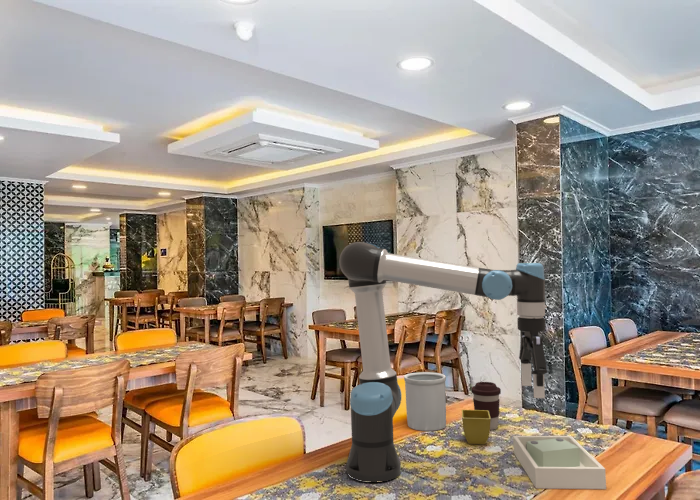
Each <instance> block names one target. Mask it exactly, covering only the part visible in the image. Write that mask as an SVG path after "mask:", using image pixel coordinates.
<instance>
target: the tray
mask: <svg viewBox="0 0 700 500" xmlns="http://www.w3.org/2000/svg"><path fill="white" fill-rule="evenodd" d="M556 438H562V439H564V440H566V441H568V442H570V443H571V444H573V445H575V446H577V447H579V458H580V466H577V467H538V466H537V464H536V463H535V462H534V460H533V459H532V457H531V456H530V454H529V453H528V452H527V442H528V441H537V440H546V439H556ZM512 442H513V443H512V444H513V445H512V446H513V454H514V455H515V457H516V459H517V460H518V462H519V464H520V466H521V467H522V468H523V470H524V471H525V473H526V475H527V477H528V478H529V480H530V481H531V483H532V484H533V486H534V488H535V489H558V490H559V489H561V490H562V489H564V490H566V489H567V490H569V489H570V490H572V489H573V490H574V489H575V490H607V479H606V478H607V477H606V468H605V467H604V466H603V465H602V464H601V463H600V462H599V461H598V460H597V459H596V458H595V457H594V456H593V455H592V454H591V453H589V452H588V450H586V448H584V446H582V444H581V443H579V442H578V441H577V440H576V439H575V438H574V437H573V436H572V435H513V436H512Z"/></svg>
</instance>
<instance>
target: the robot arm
mask: <svg viewBox="0 0 700 500" xmlns="http://www.w3.org/2000/svg"><path fill="white" fill-rule="evenodd" d="M338 264H339V268H340V270H341V272H342V274H343V275H344V277H346V278H347V280H348V289H350V290H351V291H352V292H353V293H354V298H355V306H356V307H355V308H356V315H357V316H356V317H357V325H358V327H357V328H358V335H359V344H360V352H361V355H360V356H361V362H362V364H361V365H362V372H360V373H359V376H358V378H359V379H358V380H359V381H358V382H359V384H357V385H356V386H355V387H353V388H352V390H351V391H350V399H349V402H350V403H349V404H350V424H351V425H350V426H351V447H350V449H349V453H348V457H347V460H346V465H345V467H346V471H347V472H346V474H347V473H348V474H349V475H350V476H351V477H353V478H355V479H358V480H362V481H371V482H377V481H387V480H390V481H392V480H391V479H393V478H395V479H397V478H398V477H399V476H400V475H401V472H402V470H401V469H402V466H401V461H400V458H399V455H398V453H397V450H396V446H395V444H394V442H395V441H394V416H395V414H396V413H397V412H398V410H399V408H400V405H401V403H402V391H401V387H400V385H399V383H398V382H399V381H398V377H397V371H395V369H393V368H392V367H391V356H390V348H389V340H388V339H389V338H388V332H387V322H386V314H385V305H384V304H385V303H384V297H383V289H384V288H385V287H386V285H387V281H390V282H396V283H401V284H409V285H412V286H413V285H414V286H420V287H425V288H430V289H431V288H432V289H438V290H443V291H448V292H449V291H450V292H455V293H461V294H467V295H473V296H479V297H485V298H489V299H491V300H496V301H499V300H500V301H501V300H503V299H505V298H506V297H515V296H516V298H517V299H516V300H517V301H516V314H517V316H518V317H517V330H519V331H521V332H520V333H521V336H520V337H521V338H520V339H521V340H520V346H519V355H518V358H519V360H520V365H521V367H520V370H521V371H520V373H521V378H520V379H521V386H522V387H533V398H534V399H546V395H545V392H546V390H545V374H547V373H548V370H547V364H546V356H545V349H544V340H543V339H544V338H543V336H539V333H540V332H544V331H546V318H545V317H544V316H545V315H546V309H547V307H548V306H547V305H546V303H545V301H546V300H545V299H546V292H545V291H546V288H545V287H546V285H545V284H546V281H545V280H546V279H545V268H544V265H543V264H542V263H540V262H531V263H530V262H529V263H527V262H526V263H525V262H523V263H522V262H519V263H517V264H516V267H515V269H489V268H483V267H477V266H471V265H465V264H460V263H459V264H458V263H452V262H446V261H440V260H432V259H429V258H427V259H426V258H421V257H415V256H414V257H413V256H410V255H409V256H408V255H402V254H394V253H389V252H388V250H387V249H386V248H380V247H379V246H378V245H376V244H373V243H370V242H363V241H356V242H355V241H354V242H351V243H350V244H348V245H346V246H345V247H344V248H343V249H342V251H341V253H340V255H339V263H338ZM532 367H533V370H532ZM532 376H533V382H532ZM532 385H533V386H532ZM397 476H398V477H397ZM396 477H397V478H396ZM393 480H394V479H393ZM387 482H388V481H387Z"/></svg>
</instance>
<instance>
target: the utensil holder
mask: <svg viewBox="0 0 700 500" xmlns="http://www.w3.org/2000/svg"><path fill="white" fill-rule="evenodd" d="M403 380H404V383H405V384H404V385H405V408H406V410H405V411H406V420H407V426H408V427H409V428H410V429H413V430H416V431H421V432H431V431H440V430H442V429H444V428H446V426H447V403H446V400H447V397H446V395H447V394H446V380H447V376H446V375H445V374H443V373H439V372H432V371H430V372H429V371H422V372H412V373H411V372H410V373H407V374H405V375H404V376H403Z"/></svg>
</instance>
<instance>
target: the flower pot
mask: <svg viewBox="0 0 700 500" xmlns="http://www.w3.org/2000/svg"><path fill="white" fill-rule="evenodd" d="M461 421H462V429H463V434H464V437H465V439H466V441H467V443H468V444H469V445H486V444H487V442H488V440H489V438H490V434H491V433H490V432H491V430H490V422H491V418H490V414H489V411H488V410H474V409H461Z"/></svg>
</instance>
